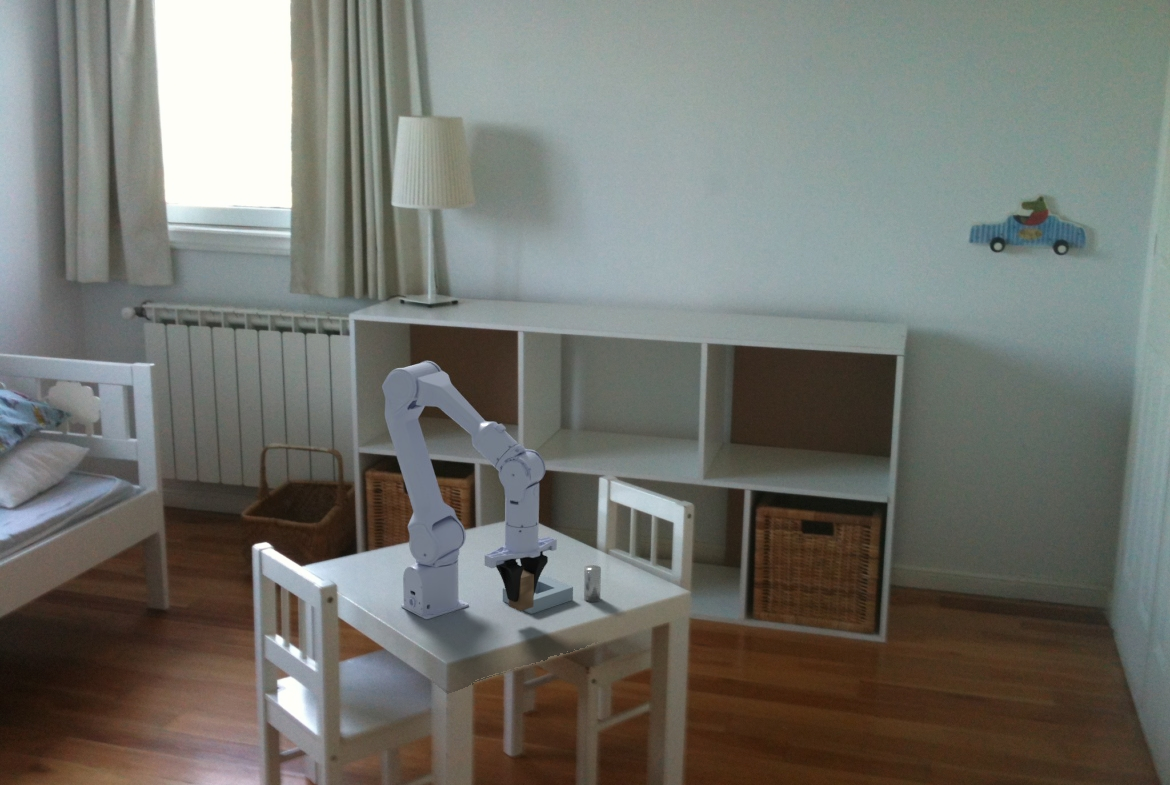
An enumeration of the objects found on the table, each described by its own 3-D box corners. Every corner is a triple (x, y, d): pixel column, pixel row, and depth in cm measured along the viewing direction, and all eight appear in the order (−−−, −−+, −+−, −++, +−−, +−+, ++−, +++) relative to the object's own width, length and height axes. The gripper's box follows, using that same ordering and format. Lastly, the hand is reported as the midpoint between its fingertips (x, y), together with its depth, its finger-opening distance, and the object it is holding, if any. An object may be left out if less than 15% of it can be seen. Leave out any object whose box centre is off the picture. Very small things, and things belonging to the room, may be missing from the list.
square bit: (520, 611, 194) (520, 578, 193) (508, 606, 196) (509, 573, 195) (533, 606, 196) (533, 574, 195) (522, 601, 198) (522, 569, 197)
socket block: (531, 614, 201) (531, 600, 201) (502, 600, 207) (502, 588, 206) (572, 599, 208) (573, 587, 207) (544, 587, 213) (544, 575, 213)
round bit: (591, 603, 206) (592, 572, 205) (580, 598, 208) (581, 567, 207) (603, 599, 208) (604, 568, 207) (592, 594, 210) (592, 564, 209)
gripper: (503, 537, 185) (502, 615, 188) (569, 519, 195) (567, 593, 198) (476, 526, 190) (476, 602, 193) (542, 509, 200) (540, 582, 203)
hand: (520, 597), depth 196 cm, fingers closed on square bit, 3 cm apart
